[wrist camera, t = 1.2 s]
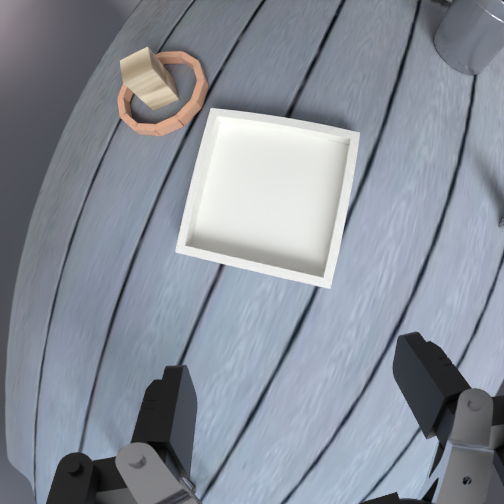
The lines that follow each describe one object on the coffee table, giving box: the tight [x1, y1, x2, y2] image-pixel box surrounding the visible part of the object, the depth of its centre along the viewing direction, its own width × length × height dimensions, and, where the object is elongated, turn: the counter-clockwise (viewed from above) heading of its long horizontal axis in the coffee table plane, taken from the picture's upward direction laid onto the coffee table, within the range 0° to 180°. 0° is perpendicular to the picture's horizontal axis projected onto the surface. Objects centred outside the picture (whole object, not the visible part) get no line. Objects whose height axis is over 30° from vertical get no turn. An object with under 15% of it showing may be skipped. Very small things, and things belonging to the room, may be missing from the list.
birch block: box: [120, 47, 179, 111], centre depth 36 cm, size 4×4×9 cm
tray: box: [175, 108, 360, 289], centre depth 37 cm, size 18×18×3 cm
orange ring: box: [117, 51, 209, 136], centre depth 39 cm, size 13×13×2 cm
